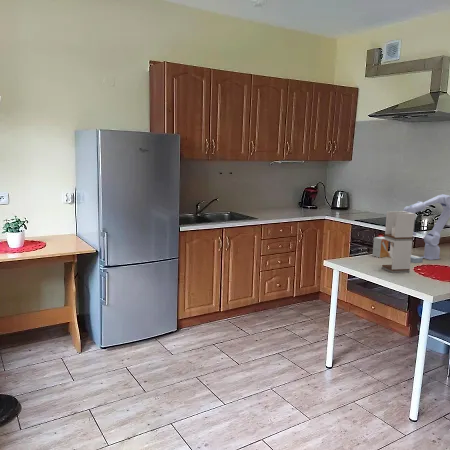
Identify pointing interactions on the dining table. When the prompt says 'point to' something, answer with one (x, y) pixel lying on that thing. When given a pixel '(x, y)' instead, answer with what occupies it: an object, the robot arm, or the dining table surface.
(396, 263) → the coffee grinder
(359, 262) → the dining table surface
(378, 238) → the small box
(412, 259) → the pad
